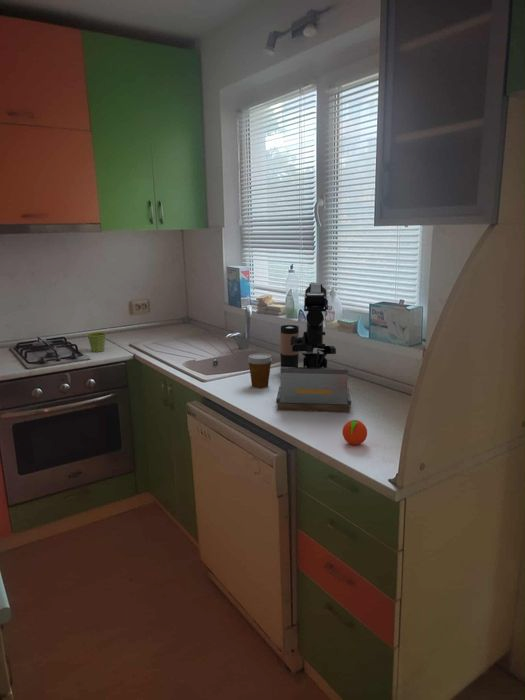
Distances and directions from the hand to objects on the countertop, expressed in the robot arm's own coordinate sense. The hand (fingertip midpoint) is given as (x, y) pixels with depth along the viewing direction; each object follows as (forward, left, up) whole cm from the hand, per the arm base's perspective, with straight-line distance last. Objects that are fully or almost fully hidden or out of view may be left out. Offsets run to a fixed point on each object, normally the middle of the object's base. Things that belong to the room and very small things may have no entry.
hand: (313, 373), depth 180 cm
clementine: (+30, +23, -11) cm, 39 cm away
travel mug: (-31, -23, -11) cm, 40 cm away
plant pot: (-28, -127, -11) cm, 130 cm away
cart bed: (+2, +1, -10) cm, 11 cm away
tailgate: (+9, +3, -8) cm, 12 cm away
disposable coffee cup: (-9, -26, -11) cm, 29 cm away
